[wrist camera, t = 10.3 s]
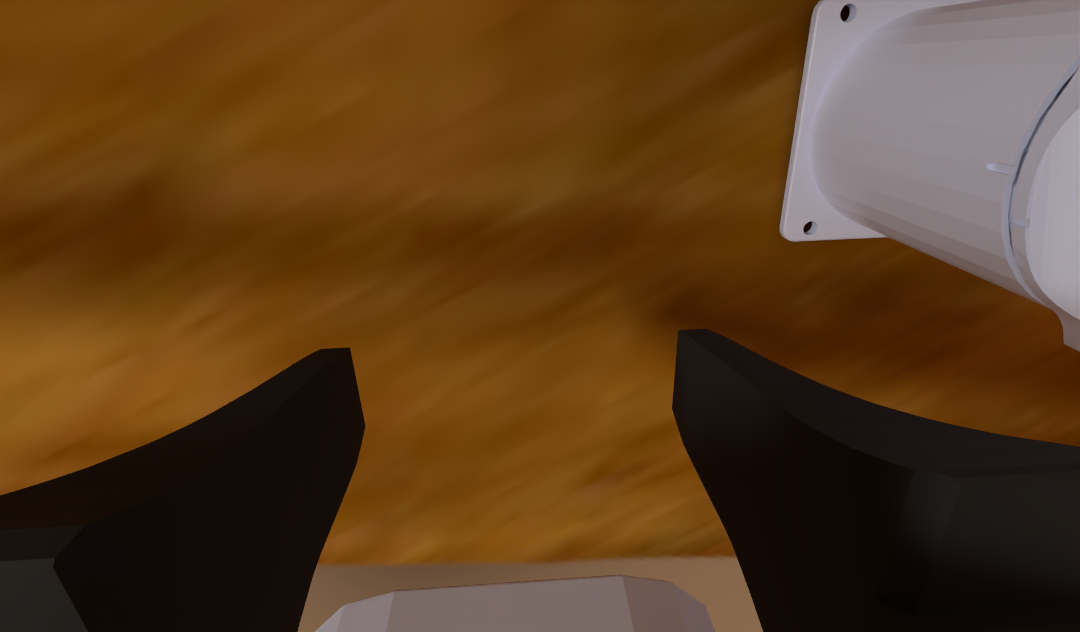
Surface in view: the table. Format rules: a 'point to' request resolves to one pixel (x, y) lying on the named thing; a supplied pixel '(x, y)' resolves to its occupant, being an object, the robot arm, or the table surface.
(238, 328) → the table surface
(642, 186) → the table surface
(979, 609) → the robot arm
